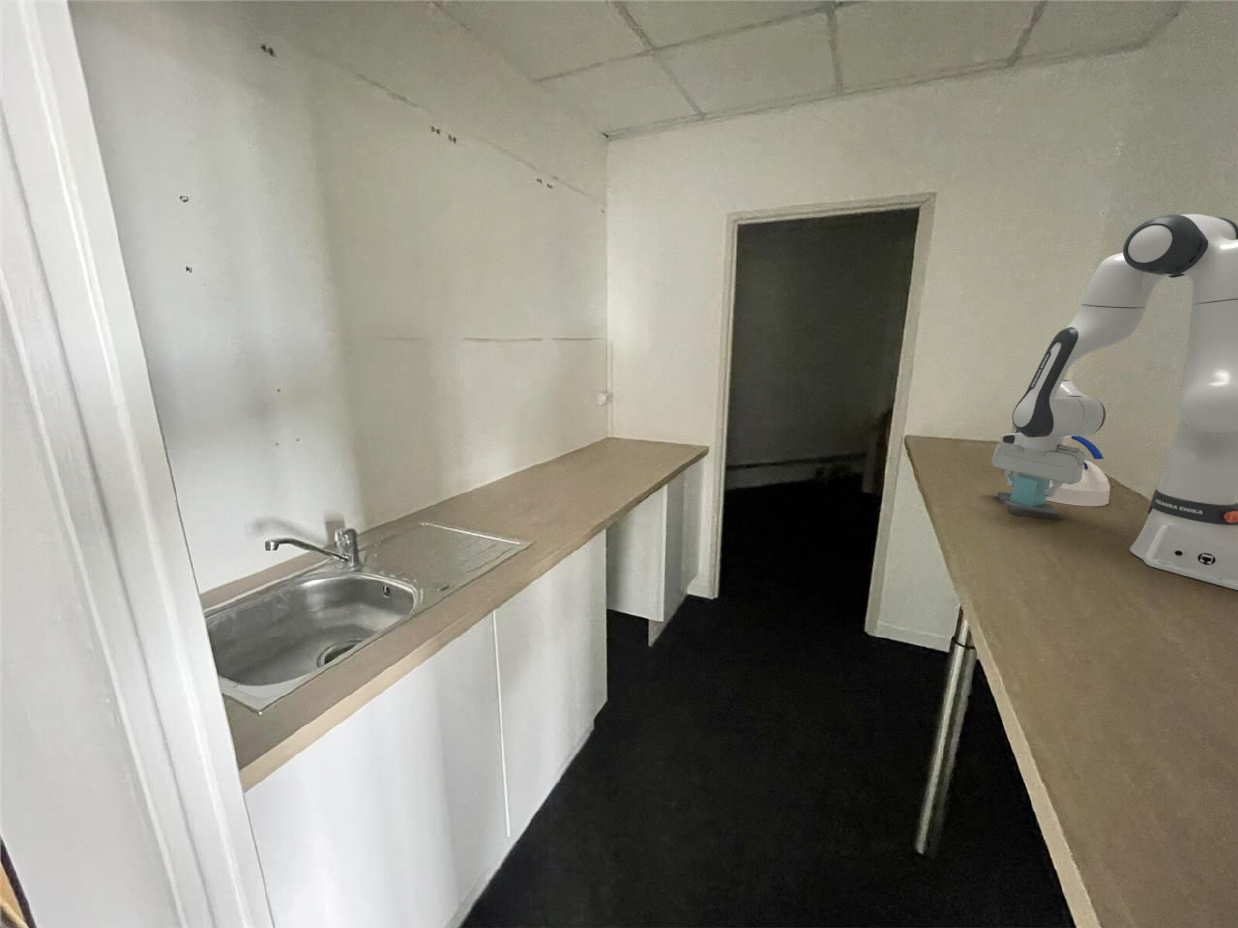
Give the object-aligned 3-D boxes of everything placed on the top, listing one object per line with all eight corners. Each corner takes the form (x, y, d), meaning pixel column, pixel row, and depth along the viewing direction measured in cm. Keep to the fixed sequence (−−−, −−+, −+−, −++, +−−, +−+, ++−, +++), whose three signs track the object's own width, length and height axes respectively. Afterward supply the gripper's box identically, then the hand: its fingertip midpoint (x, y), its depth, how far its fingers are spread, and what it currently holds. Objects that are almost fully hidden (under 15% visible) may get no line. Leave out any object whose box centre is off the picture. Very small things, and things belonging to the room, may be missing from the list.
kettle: (1073, 486, 162) (1086, 429, 157) (1129, 508, 142) (1146, 444, 138) (1003, 483, 164) (1015, 427, 159) (1049, 505, 144) (1064, 442, 139)
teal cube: (1044, 504, 140) (1050, 479, 139) (1031, 506, 138) (1037, 481, 136) (1022, 497, 145) (1027, 473, 144) (1009, 500, 143) (1014, 475, 141)
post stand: (997, 496, 151) (1002, 471, 149) (1039, 501, 147) (1045, 475, 145) (1010, 513, 137) (1016, 486, 135) (1058, 519, 133) (1064, 491, 131)
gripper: (1094, 448, 129) (1081, 501, 133) (1008, 433, 148) (998, 479, 151) (1079, 450, 127) (1066, 504, 131) (993, 434, 145) (984, 482, 149)
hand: (1029, 491), depth 141 cm, fingers open, 8 cm apart
